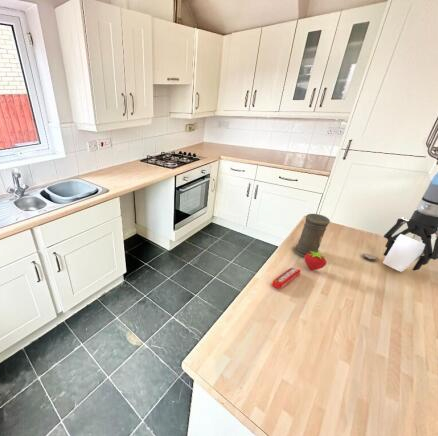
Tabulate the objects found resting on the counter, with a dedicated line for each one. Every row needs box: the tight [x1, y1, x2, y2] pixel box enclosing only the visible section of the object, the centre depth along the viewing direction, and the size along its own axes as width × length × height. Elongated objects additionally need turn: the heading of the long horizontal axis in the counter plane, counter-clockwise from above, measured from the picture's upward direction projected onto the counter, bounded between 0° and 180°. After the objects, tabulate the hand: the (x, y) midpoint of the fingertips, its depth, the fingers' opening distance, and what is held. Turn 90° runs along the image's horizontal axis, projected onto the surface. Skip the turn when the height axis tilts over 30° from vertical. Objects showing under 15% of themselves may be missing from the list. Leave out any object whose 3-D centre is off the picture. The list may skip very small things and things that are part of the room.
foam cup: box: [382, 234, 425, 273], centre depth 96 cm, size 10×9×13 cm
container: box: [294, 213, 331, 258], centre depth 105 cm, size 9×9×18 cm
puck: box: [362, 253, 377, 262], centre depth 105 cm, size 4×4×1 cm
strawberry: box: [303, 251, 327, 272], centre depth 97 cm, size 6×8×10 cm
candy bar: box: [270, 267, 302, 289], centre depth 94 cm, size 16×4×3 cm, turn 124°
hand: (400, 261), depth 98 cm, fingers closed on foam cup, 9 cm apart
